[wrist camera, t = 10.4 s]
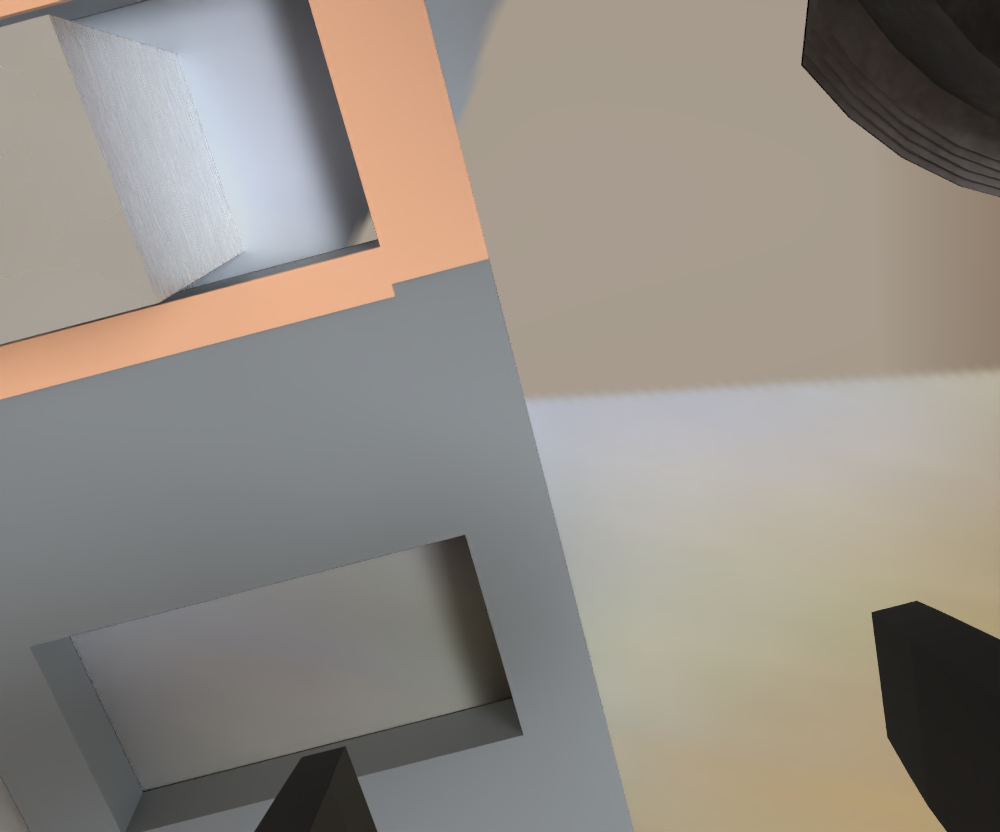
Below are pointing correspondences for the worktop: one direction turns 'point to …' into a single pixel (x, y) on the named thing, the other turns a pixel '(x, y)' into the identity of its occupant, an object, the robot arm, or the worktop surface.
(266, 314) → the rail plate
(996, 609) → the worktop surface
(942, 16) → the juicer
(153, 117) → the block
